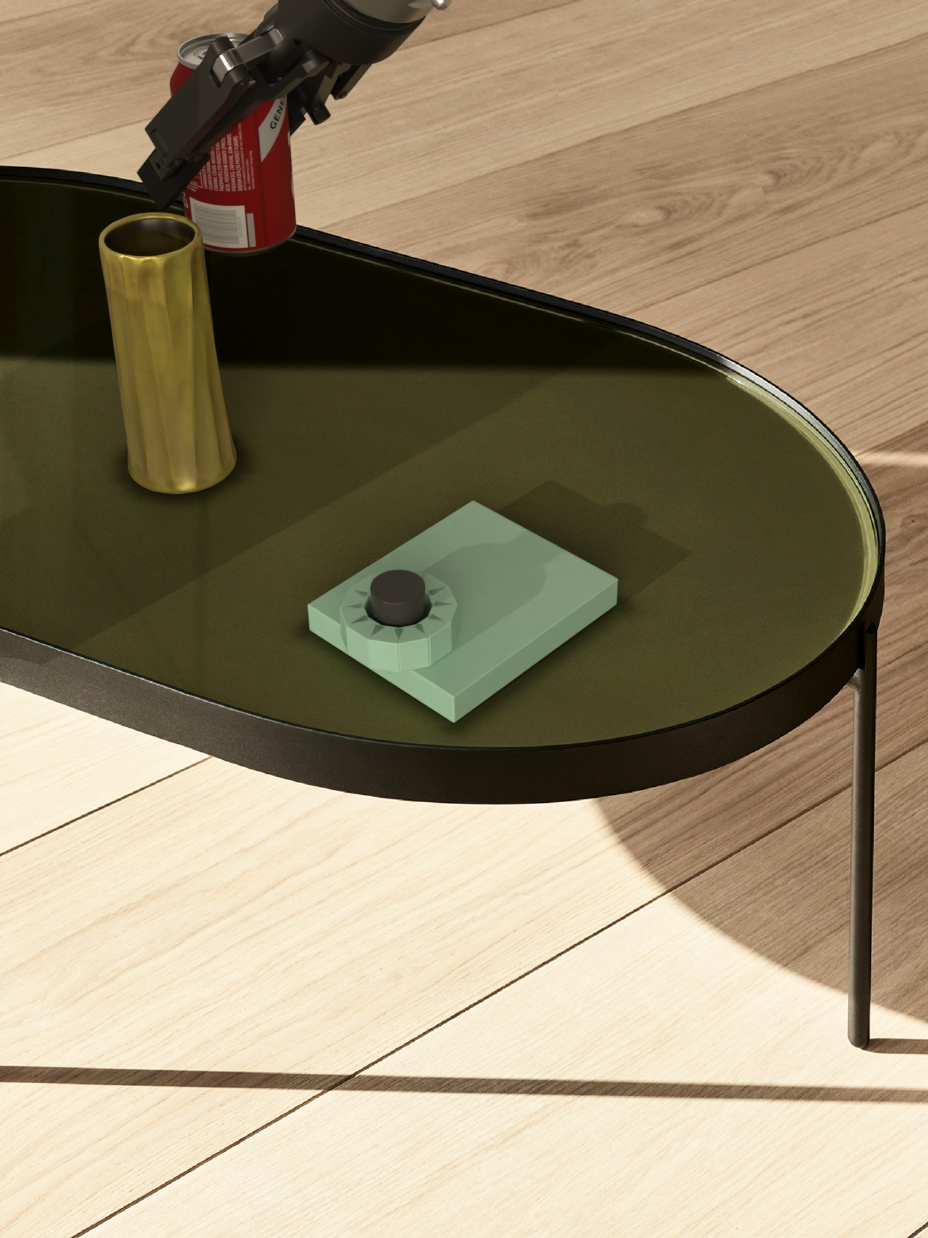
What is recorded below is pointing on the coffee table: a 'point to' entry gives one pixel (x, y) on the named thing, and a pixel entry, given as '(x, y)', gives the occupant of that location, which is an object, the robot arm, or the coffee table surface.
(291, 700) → the coffee table surface
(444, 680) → the scale
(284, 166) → the soda can
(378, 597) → the tare button
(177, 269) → the vase
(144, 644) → the coffee table surface
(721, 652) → the coffee table surface
